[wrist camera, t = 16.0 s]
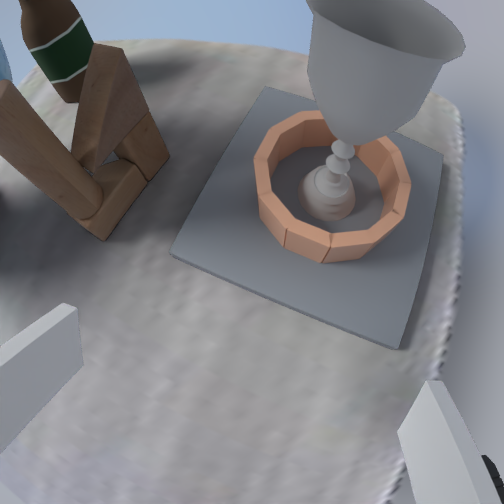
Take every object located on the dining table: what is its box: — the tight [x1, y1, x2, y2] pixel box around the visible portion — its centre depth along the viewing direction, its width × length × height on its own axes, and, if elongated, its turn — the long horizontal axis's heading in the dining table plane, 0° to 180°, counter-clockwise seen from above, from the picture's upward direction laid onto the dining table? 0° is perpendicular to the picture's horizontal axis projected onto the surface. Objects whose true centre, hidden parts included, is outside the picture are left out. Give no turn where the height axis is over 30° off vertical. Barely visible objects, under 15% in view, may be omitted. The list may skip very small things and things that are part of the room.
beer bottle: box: [19, 0, 94, 103], centre depth 24 cm, size 8×8×24 cm
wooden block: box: [0, 43, 170, 241], centre depth 21 cm, size 4×11×18 cm, turn 147°
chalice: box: [298, 0, 466, 221], centre depth 18 cm, size 7×7×18 cm
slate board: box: [169, 86, 443, 349], centre depth 28 cm, size 20×20×2 cm
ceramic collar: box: [253, 110, 412, 263], centre depth 25 cm, size 12×12×4 cm
